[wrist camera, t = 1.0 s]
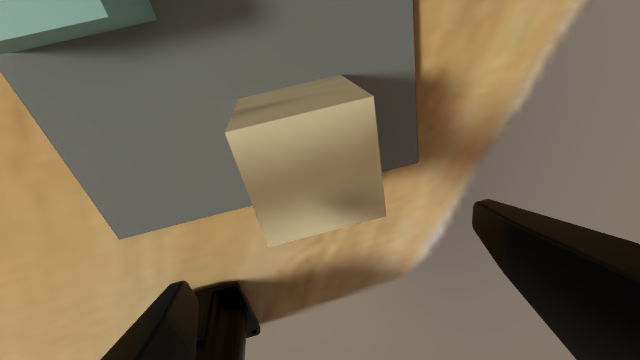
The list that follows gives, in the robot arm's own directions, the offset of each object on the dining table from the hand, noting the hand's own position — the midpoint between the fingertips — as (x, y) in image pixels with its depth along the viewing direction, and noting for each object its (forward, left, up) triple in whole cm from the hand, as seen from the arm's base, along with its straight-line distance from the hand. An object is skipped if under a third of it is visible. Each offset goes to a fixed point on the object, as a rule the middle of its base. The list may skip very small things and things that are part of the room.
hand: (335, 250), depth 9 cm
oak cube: (0, 0, -11) cm, 11 cm away
